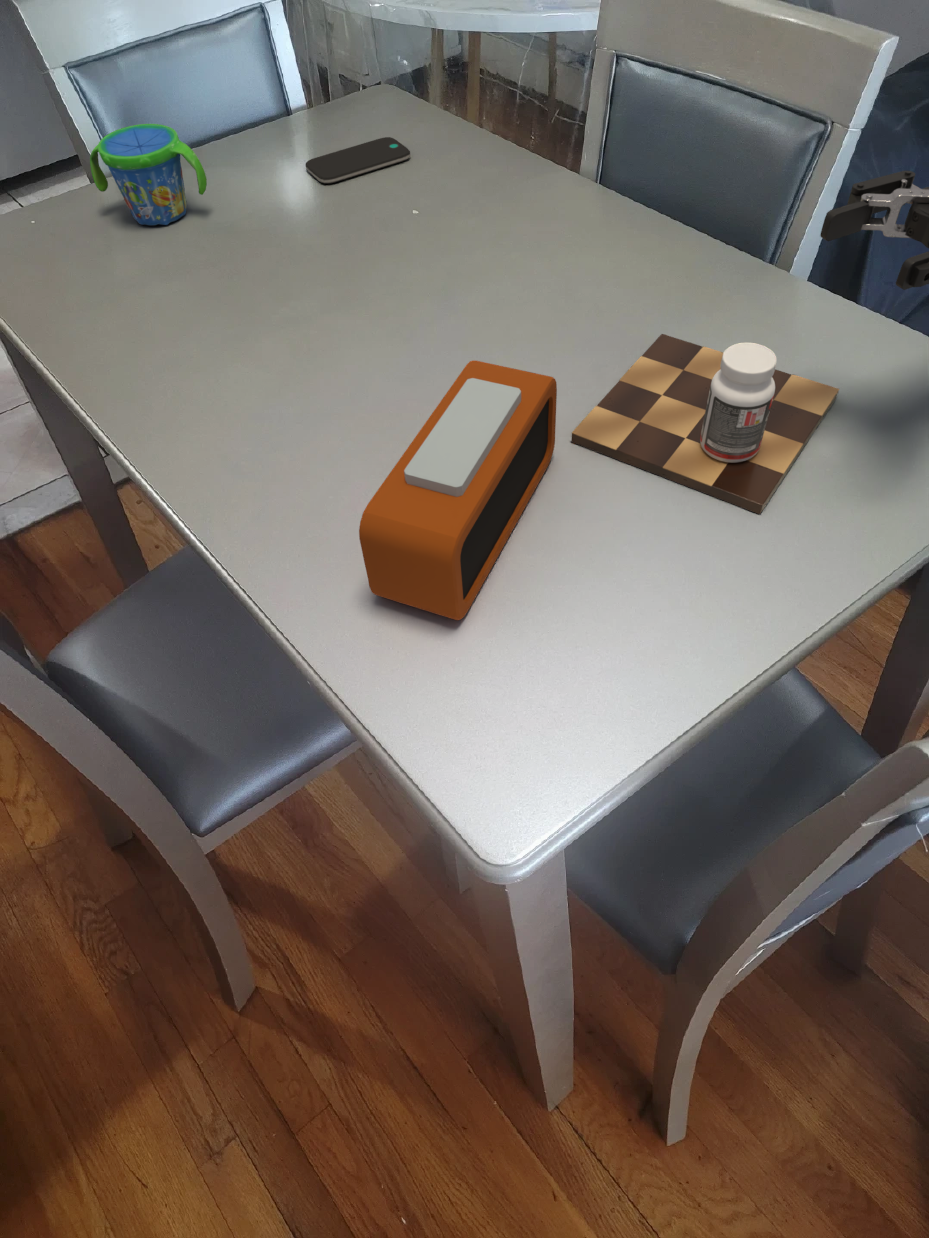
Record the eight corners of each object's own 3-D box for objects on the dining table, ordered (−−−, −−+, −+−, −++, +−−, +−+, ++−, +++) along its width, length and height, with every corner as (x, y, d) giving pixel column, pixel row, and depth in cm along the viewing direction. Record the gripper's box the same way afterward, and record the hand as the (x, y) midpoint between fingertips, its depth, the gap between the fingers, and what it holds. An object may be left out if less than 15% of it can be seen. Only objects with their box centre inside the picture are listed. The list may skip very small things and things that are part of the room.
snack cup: (227, 201, 124) (207, 126, 116) (195, 238, 118) (171, 161, 110) (131, 194, 127) (105, 119, 119) (94, 229, 121) (64, 153, 113)
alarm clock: (458, 631, 73) (449, 537, 64) (371, 603, 75) (351, 509, 67) (555, 454, 86) (559, 357, 77) (478, 436, 89) (474, 339, 80)
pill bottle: (770, 457, 83) (796, 369, 75) (716, 471, 82) (736, 383, 74) (741, 421, 86) (762, 333, 79) (688, 434, 85) (705, 346, 78)
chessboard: (836, 398, 90) (839, 389, 89) (759, 515, 80) (762, 505, 79) (660, 342, 97) (661, 333, 96) (571, 442, 87) (571, 432, 86)
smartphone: (414, 152, 129) (322, 180, 124) (414, 158, 129) (324, 186, 125) (390, 135, 133) (301, 161, 129) (391, 140, 134) (302, 167, 129)
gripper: (970, 120, 72) (813, 166, 68) (1119, 186, 64) (951, 243, 60) (936, 209, 78) (790, 257, 74) (1069, 281, 70) (912, 339, 66)
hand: (862, 251), depth 67 cm, fingers open, 8 cm apart
